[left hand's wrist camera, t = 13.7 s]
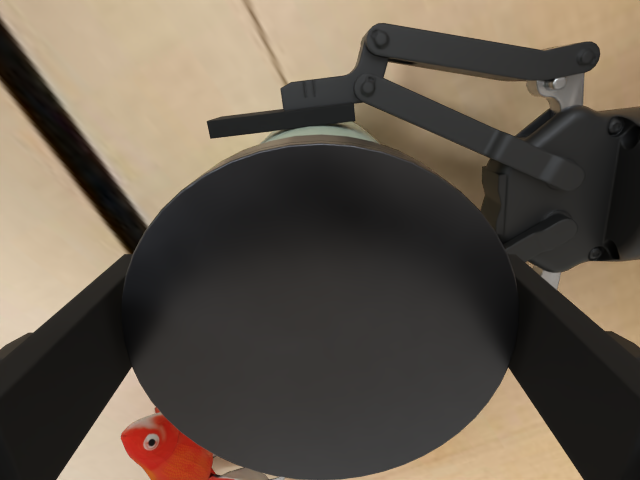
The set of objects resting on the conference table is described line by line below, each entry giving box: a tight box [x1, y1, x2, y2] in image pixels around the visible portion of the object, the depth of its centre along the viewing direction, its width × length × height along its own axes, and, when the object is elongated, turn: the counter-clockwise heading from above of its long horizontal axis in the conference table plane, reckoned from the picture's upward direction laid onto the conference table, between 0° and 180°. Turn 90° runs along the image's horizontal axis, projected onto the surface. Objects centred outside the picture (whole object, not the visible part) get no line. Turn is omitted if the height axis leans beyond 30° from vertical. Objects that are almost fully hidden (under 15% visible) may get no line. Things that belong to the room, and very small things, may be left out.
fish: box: [121, 407, 285, 480], centre depth 31 cm, size 11×16×10 cm
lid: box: [121, 134, 519, 480], centre depth 11 cm, size 11×11×2 cm
